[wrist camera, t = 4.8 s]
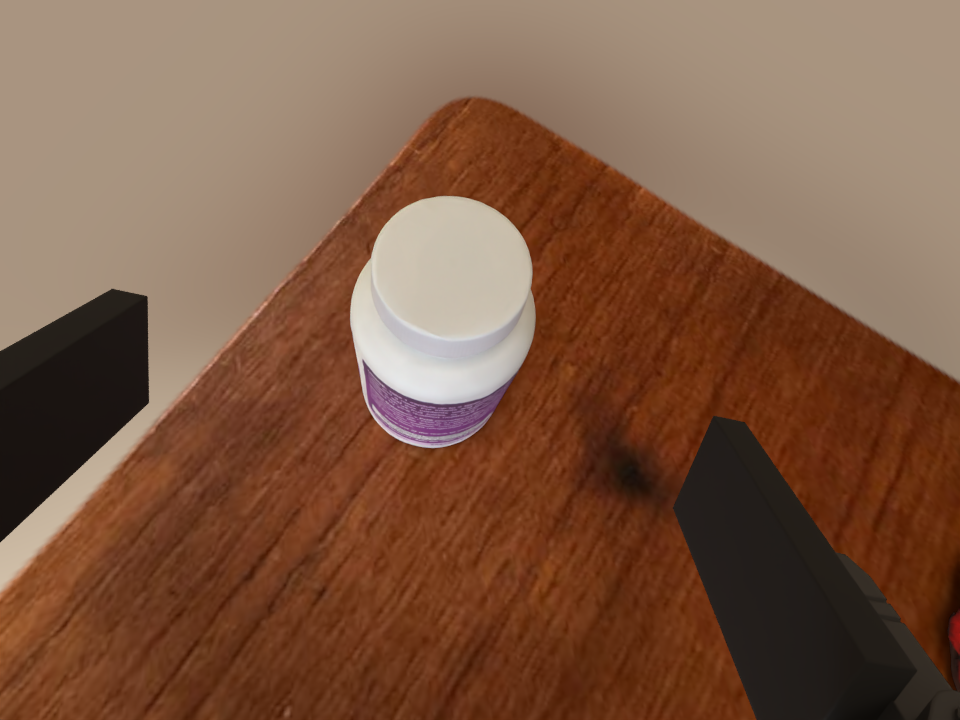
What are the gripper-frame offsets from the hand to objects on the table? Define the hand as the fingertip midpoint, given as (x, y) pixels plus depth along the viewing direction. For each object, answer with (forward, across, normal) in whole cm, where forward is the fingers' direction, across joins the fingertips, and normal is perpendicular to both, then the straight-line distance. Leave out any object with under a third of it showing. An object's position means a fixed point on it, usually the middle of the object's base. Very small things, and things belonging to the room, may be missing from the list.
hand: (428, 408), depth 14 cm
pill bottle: (+9, 0, -4) cm, 10 cm away
